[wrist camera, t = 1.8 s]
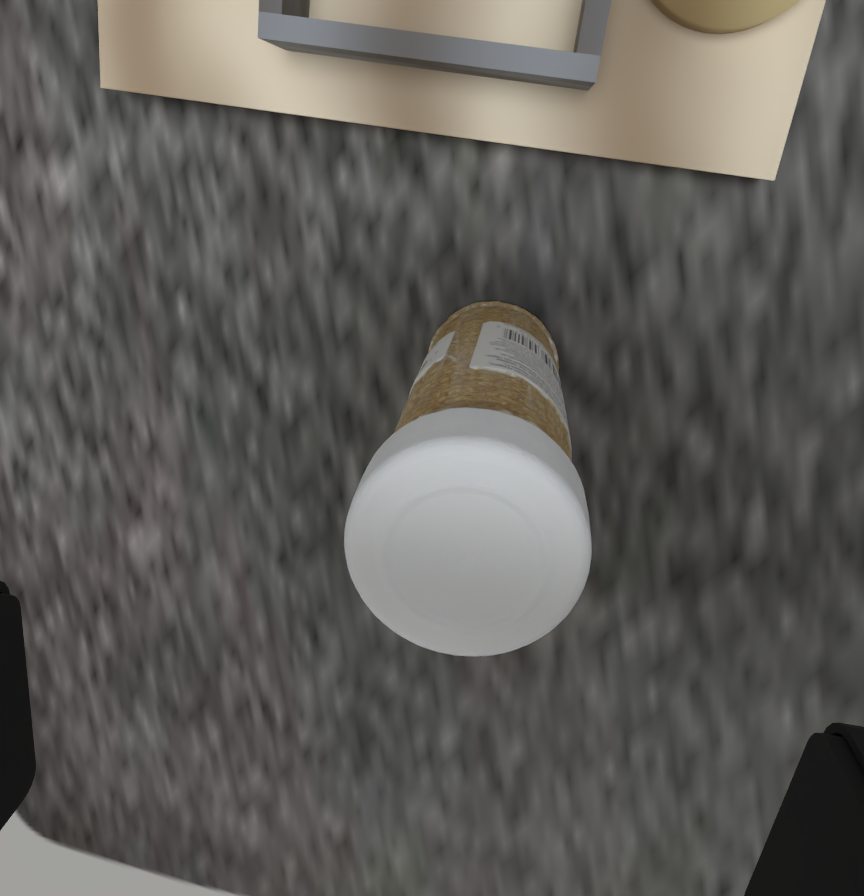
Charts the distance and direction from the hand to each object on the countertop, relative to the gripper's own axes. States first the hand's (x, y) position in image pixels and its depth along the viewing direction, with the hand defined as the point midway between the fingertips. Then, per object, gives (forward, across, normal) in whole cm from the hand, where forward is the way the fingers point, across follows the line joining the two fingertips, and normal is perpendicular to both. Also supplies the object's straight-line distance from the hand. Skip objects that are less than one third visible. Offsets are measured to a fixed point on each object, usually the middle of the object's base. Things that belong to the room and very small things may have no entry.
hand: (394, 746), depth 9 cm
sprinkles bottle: (+18, -1, 0) cm, 18 cm away
